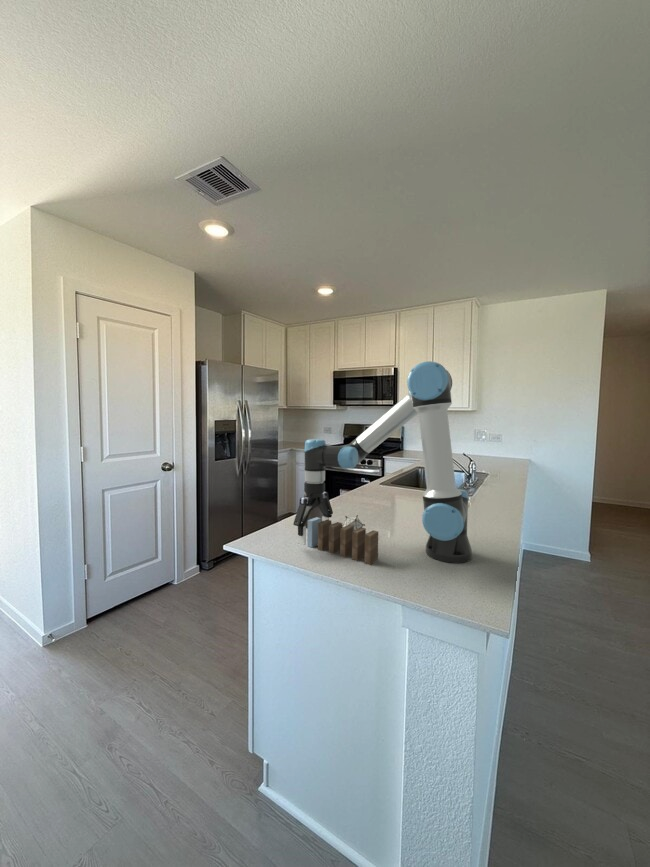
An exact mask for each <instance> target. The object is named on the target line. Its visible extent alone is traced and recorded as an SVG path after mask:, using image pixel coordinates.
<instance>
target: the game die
mask: <svg viewBox="0 0 650 867" xmlns="http://www.w3.org/2000/svg"><path fill="white" fill-rule="evenodd" d="M344 516H345V521H344V523H343V524H342V528H343V527H345V526H347V525H352V526H354V530H356V529H358V528H360V527H361V528H364V526H366V524H364V523H362V522H361V520H360V519H359V517H358V516H359V515H358V514H357V515H356V516H352V517H351V516H349V517H348V516H347V515H344Z"/></svg>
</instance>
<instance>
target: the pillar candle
mask: <svg viewBox="0 0 650 867" xmlns="http://www.w3.org/2000/svg"><path fill="white" fill-rule="evenodd" d="M303 498H306V493H305V492H304V494H303ZM316 517H318V518H321V522H322V517H324V515H323V514H322V512H321V511H320V509H319V508H318V507H315V508H313V510H311V512H310V514H309V517H308V519H307V521H306V523H305V525H304V526H306V529H308V520H310V519H313V518H316Z"/></svg>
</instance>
